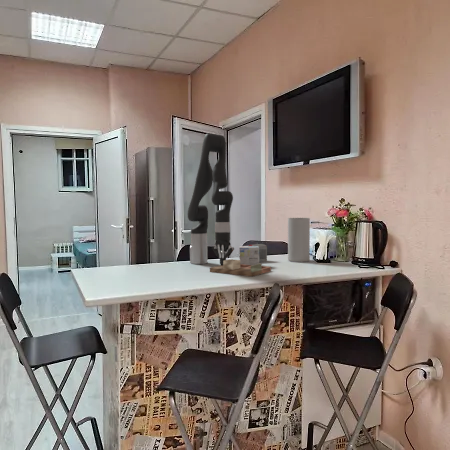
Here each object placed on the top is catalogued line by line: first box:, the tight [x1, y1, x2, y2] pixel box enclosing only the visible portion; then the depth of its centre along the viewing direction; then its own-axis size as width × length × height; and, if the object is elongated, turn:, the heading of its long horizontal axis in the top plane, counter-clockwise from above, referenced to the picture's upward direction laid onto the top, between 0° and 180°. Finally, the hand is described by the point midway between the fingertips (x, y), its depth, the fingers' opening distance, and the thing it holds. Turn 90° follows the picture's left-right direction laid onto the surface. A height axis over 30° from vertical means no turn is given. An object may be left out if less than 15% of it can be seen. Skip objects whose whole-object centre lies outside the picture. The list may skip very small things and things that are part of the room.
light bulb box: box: [238, 245, 260, 265], centre depth 217 cm, size 11×7×11 cm, turn 84°
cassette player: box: [248, 243, 268, 262], centre depth 233 cm, size 16×3×10 cm, turn 113°
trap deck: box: [209, 262, 272, 277], centre depth 200 cm, size 25×18×5 cm
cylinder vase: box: [287, 217, 311, 263], centre depth 233 cm, size 12×12×25 cm
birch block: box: [223, 259, 240, 270], centre depth 197 cm, size 6×6×4 cm
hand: (223, 265), depth 200 cm, fingers closed
